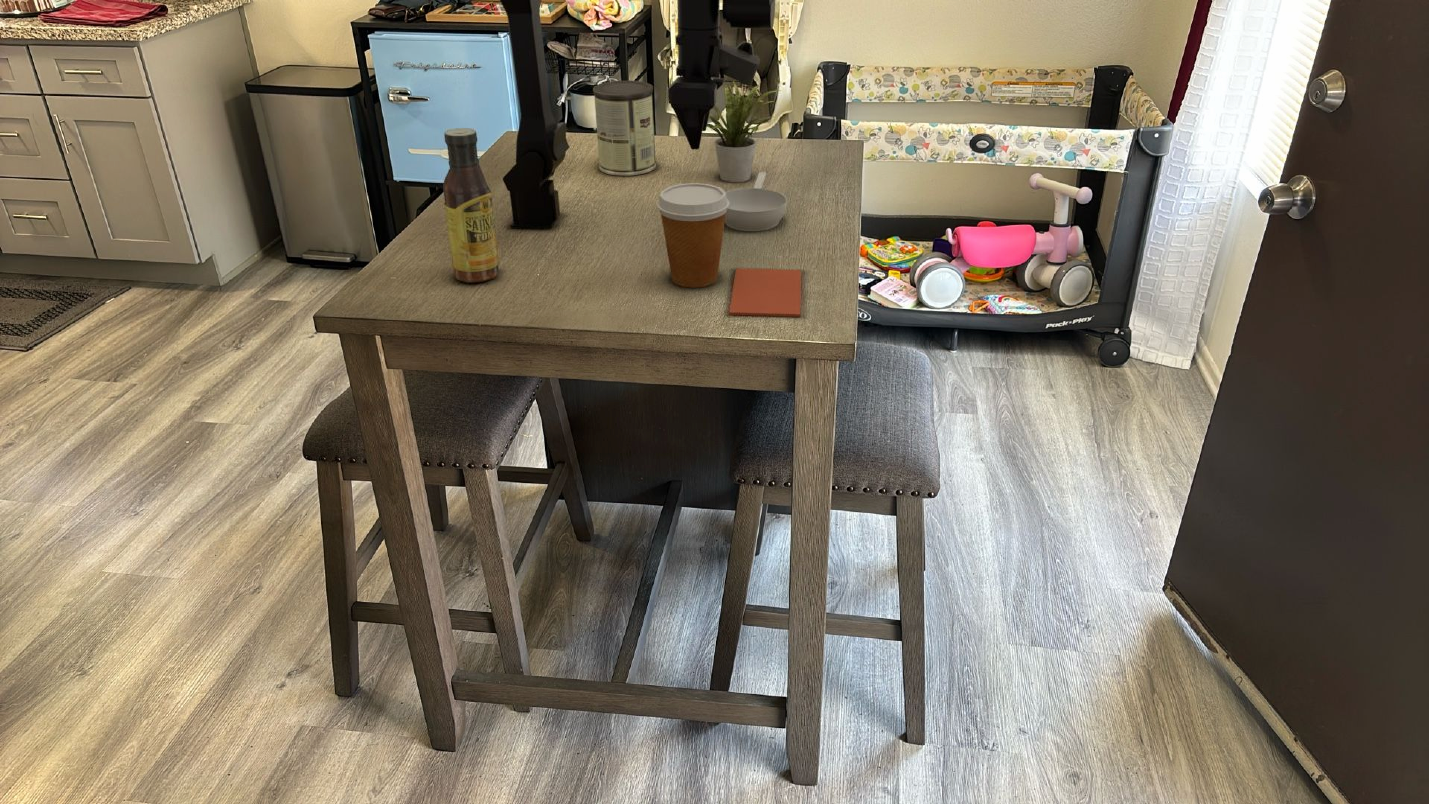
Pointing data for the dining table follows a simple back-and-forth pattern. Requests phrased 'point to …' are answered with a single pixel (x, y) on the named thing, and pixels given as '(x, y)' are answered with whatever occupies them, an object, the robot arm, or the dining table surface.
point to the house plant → (736, 135)
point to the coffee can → (625, 127)
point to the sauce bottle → (469, 210)
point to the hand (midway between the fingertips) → (698, 139)
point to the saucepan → (754, 207)
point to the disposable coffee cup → (693, 231)
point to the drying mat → (766, 292)
